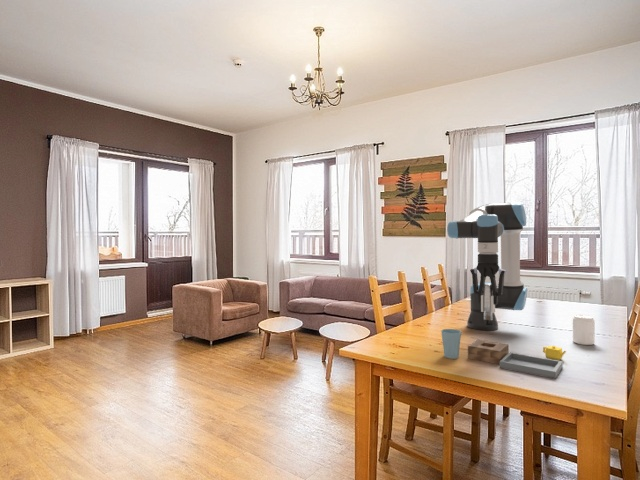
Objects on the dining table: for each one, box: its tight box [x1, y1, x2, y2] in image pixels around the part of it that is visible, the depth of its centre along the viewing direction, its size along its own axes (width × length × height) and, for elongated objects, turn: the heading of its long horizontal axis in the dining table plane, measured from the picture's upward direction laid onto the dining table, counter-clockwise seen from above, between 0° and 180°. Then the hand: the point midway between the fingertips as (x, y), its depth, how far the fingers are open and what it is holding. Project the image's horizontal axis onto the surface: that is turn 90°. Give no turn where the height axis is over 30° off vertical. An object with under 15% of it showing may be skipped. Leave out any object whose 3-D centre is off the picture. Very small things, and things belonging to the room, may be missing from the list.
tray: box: [499, 351, 564, 380], centre depth 145 cm, size 18×14×2 cm
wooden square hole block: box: [467, 338, 510, 365], centre depth 157 cm, size 12×12×5 cm
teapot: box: [542, 345, 567, 361], centre depth 155 cm, size 8×6×5 cm
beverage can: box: [572, 314, 596, 346], centre depth 175 cm, size 8×8×12 cm
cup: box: [440, 328, 462, 360], centre depth 159 cm, size 8×8×10 cm
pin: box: [484, 284, 493, 320], centre depth 157 cm, size 3×3×14 cm
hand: (488, 311), depth 157 cm, fingers closed on pin, 3 cm apart
